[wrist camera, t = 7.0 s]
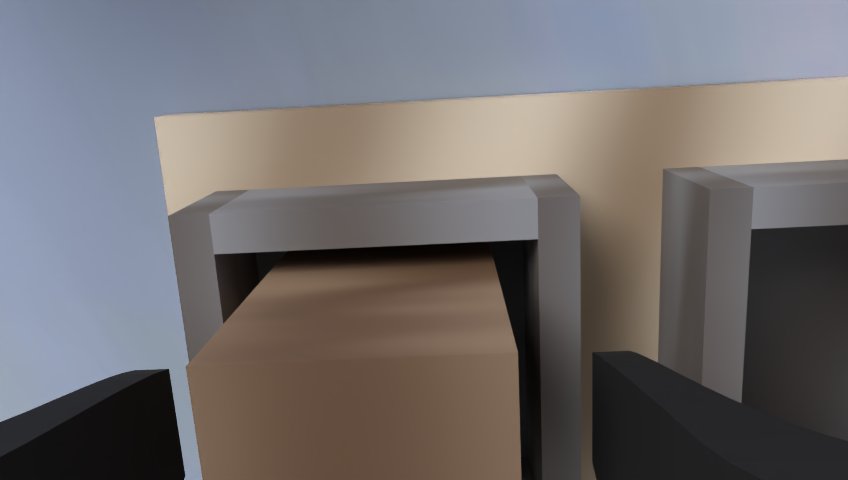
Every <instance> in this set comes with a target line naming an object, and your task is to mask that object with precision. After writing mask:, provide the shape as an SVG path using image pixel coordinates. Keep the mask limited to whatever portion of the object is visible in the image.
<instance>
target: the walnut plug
mask: <svg viewBox="0 0 848 480" xmlns="http://www.w3.org/2000/svg"><path fill="white" fill-rule="evenodd" d="M186 370H187V377H188V384H189V391H190V397H191V404H192V411H193V417H194V424H195V431H196V437H197V444H198V451H199V458H200V464H201V471H202V478H203V480H521V444H520V408H519V371H518V351H517V347H516V343H515V339H514V335H513V332H512V328H511V324H510V320H509V316H508V313H507V309H506V305H505V301H504V297H503V293H502V290H501V286H500V282H499V278H498V274H497V270H496V267H495V263H494V259H493V255H492V251H491V248H490V244H489V241H488V242H467V243H446V244H424V245H403V246H382V247H360V248H339V249H318V250H296V251H287V252H286V253H285V255H284V256H283V257H282V258H281V259H280V260H279V261H278V263H277V264H276V265H275V266H274V267H273V268H272V269H271V270H270V272H269V273H268V274H267V275H266V276H265V277H264V278H263V280H262V281H261V282H260V283H259V284H258V285H257V286H256V288H255V289H254V290H253V291H252V292H251V293H250V294H249V295H248V297H247V298H246V299H245V300H244V301H243V302H242V303H241V305H240V306H239V307H238V308H237V309H236V310H235V311H234V312H233V314H232V315H231V316H230V317H229V318H228V319H227V320H226V322H225V323H224V324H223V325H222V326H221V327H220V328H219V330H218V331H217V332H216V333H215V334H214V335H213V336H212V337H211V339H210V340H209V341H208V342H207V343H206V344H205V345H204V347H203V348H202V349H201V350H200V351H199V352H198V353H197V355H196V356H195V357H194V358H193V359H192V360H191V361H190V362H189V364H188V365H187V366H186Z"/></svg>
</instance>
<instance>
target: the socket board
mask: <svg viewBox="0 0 848 480" xmlns="http://www.w3.org/2000/svg"><path fill="white" fill-rule="evenodd" d="M154 121H155V127H156V134H157V141H158V148H159V155H160V162H161V169H162V176H163V182H164V189H165V196H166V203H167V210H168V220H169V227H170V234H171V241H172V248H173V255H174V262H175V268H176V275H177V282H178V289H179V296H180V303H181V310H182V316H183V323H184V330H185V337H186V344H187V351H188V358H189V362H190V361H191V360H192V359H193V358H194V357H195V356H196V355H197V353H198V352H199V351H200V350H201V349H202V348H203V347H204V345H205V344H206V343H207V342H208V341H209V340H210V339H211V337H212V336H213V335H214V334H215V333H216V332H217V331H218V330H219V328H220V327H221V326H222V325H223V324H224V323H225V322H226V320H227V319H228V318H229V317H230V316H231V315H232V314H233V312H234V311H235V310H236V309H237V308H238V307H239V306H240V305H241V303H242V302H243V301H244V300H245V299H246V298H247V297H248V295H249V294H250V293H251V292H252V291H253V290H254V289H255V288H256V286H257V285H258V284H259V283H260V282H261V281H262V280H263V278H264V277H265V276H266V275H267V274H268V273H269V272H270V270H271V269H272V268H273V267H274V266H275V265H276V264H277V263H278V261H279V260H280V259H281V258H282V257H283V256H284V255H285V253H286V252H287V251H296V250H318V249H339V248H360V247H382V246H403V245H424V244H446V243H467V242H488V241H489V244H490V248H491V251H492V255H493V259H494V263H495V267H496V270H497V274H498V278H499V282H500V286H501V290H502V293H503V297H504V301H505V305H506V309H507V313H508V316H509V320H510V324H511V328H512V332H513V335H514V339H515V343H516V347H517V351H518V371H519V408H520V444H521V480H596V476H595V472H594V468H593V464H592V352H609V351H632V352H636V353H638V354H641V355H643V356H645V357H647V358H649V359H651V360H654V361H656V362H658V363H660V364H662V365H664V366H665V367H667V368H669V369H671V370H673V371H675V372H677V373H679V374H681V375H683V376H685V377H687V378H689V379H691V380H693V381H695V382H697V383H699V384H701V385H703V386H705V387H707V388H709V389H711V390H713V391H715V392H717V393H720V394H722V395H724V396H726V397H728V398H730V399H733V400H735V401H737V402H740V403H742V404H744V405H747V406H749V407H751V408H754V409H756V410H758V411H761V412H763V413H766V414H768V415H771V416H773V417H776V418H779V419H781V420H784V421H787V422H790V423H793V424H796V425H799V426H802V427H805V428H808V429H811V430H814V431H817V432H819V433H822V434H826V435H829V436H832V437H836V438H839V439H843V440H846V441H848V77H833V78H815V79H797V80H779V81H761V82H743V83H725V84H707V85H689V86H671V87H653V88H635V89H617V90H599V91H581V92H563V93H545V94H527V95H509V96H491V97H473V98H455V99H437V100H419V101H401V102H383V103H365V104H347V105H329V106H311V107H293V108H275V109H257V110H239V111H221V112H203V113H185V114H171V115H164V116H158V117H154Z"/></svg>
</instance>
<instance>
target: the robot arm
mask: <svg viewBox="0 0 848 480" xmlns="http://www.w3.org/2000/svg"><path fill="white" fill-rule="evenodd" d="M592 464H593V468H594V472H595V476H596V480H848V441H846V440H843V439H839V438H836V437H832V436H829V435H826V434H822V433H819V432H817V431H814V430H811V429H808V428H805V427H802V426H799V425H796V424H793V423H790V422H787V421H784V420H781V419H779V418H776V417H773V416H771V415H768V414H766V413H763V412H761V411H758V410H756V409H754V408H751V407H749V406H747V405H744V404H742V403H740V402H737V401H735V400H733V399H730V398H728V397H726V396H724V395H722V394H720V393H717V392H715V391H713V390H711V389H709V388H707V387H705V386H703V385H701V384H699V383H697V382H695V381H693V380H691V379H689V378H687V377H685V376H683V375H681V374H679V373H677V372H675V371H673V370H671V369H669V368H667V367H665V366H664V365H662V364H660V363H658V362H656V361H654V360H651V359H649V358H647V357H645V356H643V355H641V354H638V353H636V352H632V351H609V352H592ZM184 478H185V471H184V465H183V458H182V452H181V445H180V439H179V432H178V426H177V419H176V413H175V406H174V400H173V393H172V387H171V380H170V374H169V369H158V370H134V371H130V372H125V373H121V374H118V375H115V376H112V377H109V378H106V379H104V380H101V381H99V382H96V383H94V384H91V385H89V386H86V387H84V388H81V389H79V390H76V391H74V392H72V393H69V394H67V395H65V396H62V397H60V398H58V399H55V400H53V401H51V402H48V403H46V404H44V405H41V406H39V407H37V408H34V409H32V410H30V411H27V412H25V413H22V414H20V415H17V416H15V417H12V418H10V419H7V420H5V421H2V422H0V480H184Z"/></svg>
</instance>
